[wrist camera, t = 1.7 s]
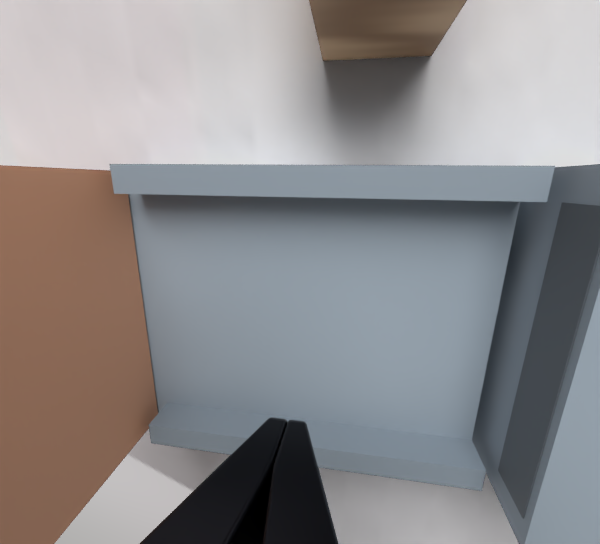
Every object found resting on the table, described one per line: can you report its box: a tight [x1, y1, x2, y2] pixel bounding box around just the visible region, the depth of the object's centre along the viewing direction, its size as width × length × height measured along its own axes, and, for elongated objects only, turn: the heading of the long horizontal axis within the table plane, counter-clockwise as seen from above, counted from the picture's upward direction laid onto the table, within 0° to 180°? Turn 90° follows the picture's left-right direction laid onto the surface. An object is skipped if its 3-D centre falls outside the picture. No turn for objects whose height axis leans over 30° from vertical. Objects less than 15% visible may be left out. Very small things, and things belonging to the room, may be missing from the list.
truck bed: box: [110, 164, 600, 544], centre depth 12 cm, size 19×12×6 cm, turn 89°
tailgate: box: [0, 165, 158, 544], centre depth 10 cm, size 1×12×8 cm, turn 179°
